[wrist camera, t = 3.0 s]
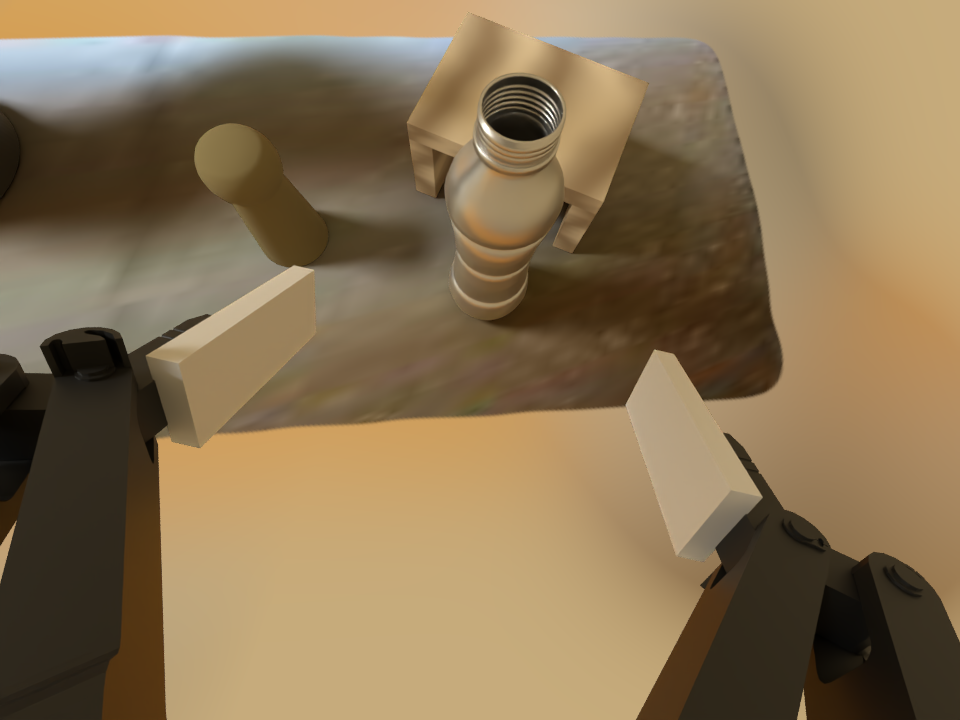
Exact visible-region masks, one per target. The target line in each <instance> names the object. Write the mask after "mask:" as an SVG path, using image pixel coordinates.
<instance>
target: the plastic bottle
mask: <svg viewBox="0 0 960 720" xmlns="http://www.w3.org/2000/svg"><path fill="white" fill-rule="evenodd" d="M565 120H566V103H565V101H564V98H563V96H562V94H561V93H560V91H559V90H558V89H557V88H556V87H555V86H554V85H553V84H552V83H550V82H549V81H547V80H546V79H544V78H542V77H540V76H537V75H533V74H529V73H510V74H505V75H502V76H500V77H498V78H496V79H494V80H492V81H491V82H490V83H489V84H488V85H487V86H486V87H485V88H484V90H483V91H482V93H481V96H480V99H479V102H478V108H477V118H476V121H475V123H474V129H473V138H472V139H471V140H470V141H469V142H468V143H466V144H465V145H464V146H463V147H462V148H461V149H460V150H459V151H458V153H457V154H456V156H455V157H454V159H453V161H452V163H451V166H450V168H449V171H448V173H447V176H446V179H445V186H444V191H445V200H446V207H447V210H448V214H449V217H450V220H451V224H452V227H453V231H454V235H455V245H456V252H455V258H454V260H453V263H452V266H451V269H450V273H449V280H448V282H449V289H450V293H451V295H452V297H453V299H454V301H455V302H456V304H457V306H458V307H459V308H460V309H461V310H462V311H463V312H464V313H466V314H467V315H469V316H471V317H473V318H476V319H480V320H495V319H499V318H502V317H504V316H506V315H508V314H509V313H510V312H512V311H513V310H514V309H515V308H516V307H517V306H518V305H519V304H520V303H521V301H522V300H523V298H524V296H525V293H526V290H527V284H528V268H529V264H530V260H531V258H532V256H533V254H534V252H535V250H536V248H537V247H538V245H539V244H540V243H541V241H542V240H543V239H544V237H545V236H546V235H547V233H548V232H549V230H550V229H551V228H552V226H553V224H554V223H555V221H556V219H557V217H558V216H559V214H560V212H561V209H562V206H563V203H564V193H565V191H564V176H563V171H562V169H561V166H560V163H559V161H558V159H557V157H556V153H557V150H558V147H559V144H560V136H561V132H562V129H563V127H564V124H565Z"/></svg>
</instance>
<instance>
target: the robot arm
mask: <svg viewBox="0 0 960 720" xmlns="http://www.w3.org/2000/svg"><path fill="white" fill-rule="evenodd" d="M18 162H19V141H18V137H17V134H16V132H15V129H14V127H13V126H12V124H11V122H10V121H9V120H8V119H7V117H6V116H5V115H4V114H3V113H2V112H1V111H0V198H1V197H2V196H3V194H4V193H5V192H6V190H7V189H8V187H9V185H10V184H11V182H12V180H13V178H14V175H15V173H16V170H17V166H18ZM315 334H316V316H315V280H314V270H312V269H308V268H303V267H299V266H295V265H294V266H292V267H291V268H289V269H287V270H286V271H284V272H282V273H281V274H279V275H277V276H276V277H274V278H272V279H271V280H269V281H268V282H266V283H264V284H263V285H261V286H259V287H258V288H256V289H254V290H253V291H251V292H249V293H248V294H246V295H245V296H243V297H241V298H240V299H238V300H236V301H235V302H233V303H231V304H230V305H228V306H227V307H225V308H223V309H222V310H220V311H218V312H217V313H215V314H213V315H208V314H206V315H203V316H199V317H196V318H192V319H189V320H187V321H185V322H183V323H182V324H180V325H178V326H176V327H175V328H174V329H173V330H169V331H168V332H166V333H164V334H163V335H162V337H157V338H156V339H154V340H152V341H150V342H149V343H147V344H145V345H144V346H142V347H140V348H138V349H137V350H135V351H133V352H131V353H130V354H127V351H126V348H125V345H124V342H123V339H122V337H121V335H120V333H119V332H117V331H115V330H113V329H108V328H101V327H87V328H79V329H73V330H68V331H65V332H61V333H58V334H55V335H53V336H52V337H50V338H48V339H46V340H45V341H44V342H43V343H42V344H41V345H40V348H41V350H42V352H43V354H44V357H45V359H46V361H47V363H48V365H49V367H50V369H51V371H52V374H41V373H24V371H23V369H22V367H21V365H20V363H19V362H18V360H17V359H16V358H15V357H12V356H9V355H6V354H0V545H1V544H2V542H3V540H4V539H5V537H6V536H7V534H8V533H9V531H10V530H11V528H12V526H13V525H14V523H15V521H16V520H17V522H16V526H15V529H14V533H13V537H12V541H11V545H10V549H9V552H8V556H7V560H6V564H5V568H4V572H3V575H2V579H1V583H0V720H167V719H166V705H165V669H164V635H163V601H162V567H161V532H160V501H159V500H160V498H159V465H158V464H159V463H158V443H157V440H156V437H155V435H156V434H157V433H158V432H160V431H161V430H162V429H163V428H164V427H166V426H167V427H168V431H169V434H170V437H171V440H172V442H175V443H179V444H184V445H188V446H193V447H197V448H201V447H202V446H203V445H204V444H205V443H206V442H207V441H208V440H209V439H210V438H211V437H212V436H213V435H214V434H215V433H216V432H217V431H218V430H219V429H220V428H221V427H222V426H223V425H224V424H225V423H226V422H227V421H228V420H229V419H230V418H231V417H232V416H233V415H234V414H235V413H236V412H237V411H238V410H239V409H240V408H241V407H242V406H243V405H244V404H245V403H246V402H247V401H248V400H249V399H250V398H251V397H252V396H253V395H254V394H255V393H256V392H257V391H258V390H259V389H261V388H262V387H263V386H264V385H265V384H266V383H267V382H268V381H269V380H270V379H271V378H272V377H273V376H274V375H275V374H276V373H277V372H278V371H279V370H280V369H281V368H282V367H283V366H284V365H285V364H286V363H287V362H288V361H289V360H290V359H291V358H292V357H293V356H294V355H295V354H296V353H297V352H298V351H299V350H300V349H301V348H302V347H303V346H304V345H305V344H306V343H307V342H308V341H309V340H310V339H311V338H312V337H313V336H314V335H315ZM626 408H627V411H628V414H629V417H630V420H631V423H632V426H633V429H634V432H635V435H636V438H637V441H638V444H639V447H640V450H641V453H642V456H643V459H644V462H645V464H646V468H647V470H648V473H649V476H650V479H651V482H652V485H653V488H654V491H655V494H656V497H657V500H658V503H659V506H660V509H661V512H662V515H663V518H664V521H665V523H666V527H667V530H668V533H669V536H670V538H671V541H672V544H673V547H674V550H675V553H676V556H678V557H683V558H687V559H692V560H696V561H701V562H704V561H705V560H706V559H707V558H708V557H709V556H710V555H711V553H713V551H714V550H715V549H716V551H717V553H718V555H719V557H720V560H721V562H722V563H721V564H720V565H719V566H718V567H717V568H716V569H715V571H714V572H713V573H712V574H711V575H710V576H709V577H708V578H707V579H706V580H705V581H704V582H703V583H702V584H701V585H700V586H702V587H703V588H704V589H705V590H704V592H703V593H702V595H701V598H700V599H699V601H698V603H697V605H696V607H695V609H694V611H693V612H692V614H691V616H690V618H689V620H688V622H687V624H686V626H685V628H684V630H683V631H682V634H681V635H680V637H679V639H678V641H677V643H676V645H675V647H674V649H673V651H672V652H671V655H670V656H669V658H668V660H667V662H666V664H665V666H664V668H663V669H662V671H661V673H660V675H659V677H658V679H657V681H656V683H655V685H654V687H653V688H652V690H651V692H650V694H649V696H648V698H647V700H646V702H645V704H644V706H643V707H642V709H641V711H640V713H639V715H638V717H637V719H636V720H797V716H798V712H799V707H800V702H801V697H802V692H803V688H804V696H805V706H806V716H807V720H960V642H959V639H958V637H957V635H956V633H955V630H954V628H953V626H952V624H951V621H950V620H949V617H948V615H947V612H946V610H945V608H944V606H943V604H942V601H941V599H940V598H939V596H938V595H937V593H936V592H935V590H934V589H933V588H932V587H931V585H929V583H928V582H927V581H926V580H925V579H924V578H923V577H922V576H921V575H920V574H919V573H918V572H915V571H914V569H913V568H911V567H910V566H908V565H906V564H904V563H903V562H901V561H899V560H897V559H896V558H894V557H891V556H889V555H886V554H884V553H877V552H873V553H871V554H870V555H868V556H867V557H866V558H864V559H863V560H862V561H860V562H858V561H856V560H854V559H852V558H850V557H848V556H846V555H843V554H841V553H839V552H837V551H835V550H833V549H831V547H830V545H829V543H828V542H827V540H826V538H825V537H824V536H823V535H822V534H821V533H820V531H818V529H817V528H816V527H815V526H813V525H812V524H811V523H809V522H808V521H807V520H805V519H804V518H802V517H801V516H799V515H797V514H795V513H793V512H790V511H787V510H784V509H783V507H782V506H781V504H780V502H779V501H778V500H777V498H776V497H775V495H774V493H773V492H772V490H771V489H770V487H769V486H768V484H767V483H766V481H765V480H764V478H763V477H762V475H761V474H759V473H758V472H759V471H758V469H757V468H756V466H755V464H754V463H752V462H751V461H752V460H751V458H750V457H749V455H748V454H747V452H746V451H745V449H744V448H743V447H742V446H741V445H740V444H739V443H738V442H737V441H736V440H735V439H734V438H733V437H732V436H731V435H730V434H727V433H723V432H722V431H721V429H720V428H719V426H718V424H717V423H716V421H715V419H714V418H713V416H712V415H711V413H710V411H709V410H708V408H707V407H706V405H705V403H704V402H703V400H702V399H701V397H700V395H699V394H698V392H697V390H696V389H695V387H694V386H693V384H692V382H691V381H690V379H689V378H688V376H687V374H686V373H685V371H684V370H683V368H682V366H681V365H680V363H679V361H678V360H677V358H676V357H675V355H674V354H671V353H667V352H663V351H659V350H654V351H653V353H652V355H651V357H650V359H649V361H648V363H647V365H646V367H645V368H644V370H643V372H642V374H641V376H640V378H639V380H638V382H637V384H636V386H635V388H634V390H633V392H632V394H631V395H630V397H629V399H628V401H627V403H626Z"/></svg>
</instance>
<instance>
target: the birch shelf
mask: <svg viewBox="0 0 960 720" xmlns="http://www.w3.org/2000/svg"><path fill="white" fill-rule="evenodd" d="M510 73H529V74H533V75H537V76H540V77H542V78H544V79H546V80H547V81H549V82H550V83H552V84H553V85H554V86H555V87H556V88H557V89H558V90H559V91H560V93H561V94H562V96H563V98H564V101H565V103H566V120H565V124H564V127H563V129H562V132H561V136H560V144H559V147H558V150H557V153H556V157H557V159H558V161H559V163H560V166H561V169H562V171H563V176H564V191H565V193H564V202H566V203H569V206H568V208H567V211H566V213H565V216H564V218H563V221H562V223H561V226H560V228H559V230H558V233H557V235H556V238H555V240H554V243H553V245H552V246H554V247H557V248H559V249H562V250H564V251H567V252H569V253H573V251H574V249H575V248H576V246H577V244H578V243H579V241H580V240H581V238H582V236H583V235H584V233H585V231H586V230H587V228H588V227H589V225H590V223H591V222H592V220H593V218H594V217H595V215H596V213H597V212H598V210H599V209H600V207H601V205H602V204H603V202H604V199H605V197H606V194H607V191H608V189H609V186H610V184H611V181H612V178H613V176H614V173H615V171H616V168H617V165H618V163H619V160H620V158H621V155H622V152H623V150H624V147H625V145H626V142H627V139H628V137H629V134H630V131H631V129H632V126H633V124H634V121H635V118H636V116H637V113H638V111H639V108H640V105H641V103H642V100H643V98H644V95H645V92H646V90H647V87H648V84H649V83H647V82H645V81H642V80H639V79H637V78H634V77H632V76H629V75H627V74H624V73H622V72H619V71H617V70H614V69H612V68H609V67H606V66H604V65H601V64H599V63H596V62H594V61H591V60H589V59H586V58H584V57H581V56H579V55H576V54H573V53H571V52H568V51H566V50H563V49H561V48H558V47H556V46H553V45H551V44H548V43H546V42H543V41H540V40H538V39H535V38H533V37H530V36H528V35H525V34H523V33H520V32H518V31H515V30H512V29H510V28H508V27H505V26H502V25H500V24H497V23H495V22H492V21H490V20H487V19H485V18H482V17H480V16H477V15H474V14H472V13H469V12H468V13H467V15H466V17H465V18H464V20H463V22H462V24H461V26H460V27H459V29H458V31H457V33H456V35H455V36H454V38H453V40H452V42H451V44H450V45H449V47H448V49H447V51H446V53H445V54H444V56H443V58H442V60H441V62H440V63H439V65H438V67H437V69H436V71H435V72H434V74H433V76H432V78H431V80H430V82H429V83H428V85H427V87H426V89H425V91H424V92H423V94H422V96H421V98H420V100H419V101H418V103H417V105H416V107H415V109H414V110H413V112H412V114H411V116H410V118H409V119H408V121H407V129H408V135H409V142H410V149H411V156H412V162H413V169H414V176H415V183H416V190H417V191H419V192H422V193H424V194H427V195H429V196H432V197H434V198H436V197H437V195H438V193H439V191H440V189H441V187H442V185H443V183H444V181H445V179H446V176H447V173H448V171H449V168H450V166H451V163H452V161H453V159H454V157H455V156H456V154H457V153H458V151H459V150H460V149H461V148H462V147H463V146H464V145H465V144H466V143H468V142H469V141H470V140H471V139H472V138H473V129H474V123H475V121H476V118H477V108H478V102H479V99H480V96H481V93H482V91H483V90H484V88H485V87H486V86H487V85H488V84H489V83H490V82H491V81H492V80H494V79H496V78H498V77H500V76H502V75H505V74H510Z"/></svg>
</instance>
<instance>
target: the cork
mask: <svg viewBox="0 0 960 720" xmlns="http://www.w3.org/2000/svg"><path fill="white" fill-rule="evenodd" d="M194 162H195V166H196V169H197V173H198V174H199V176H200V178H201V180H202V181H203V182H204V184H205V185H206V186H207V188H208V189H209V190H210V191H211V192H212V193H214V194H215V195H217V196H218V197H220V198H222V199H223V200H225V201H227V202H228V203H232V204H233V206H234V207H235V209H236V210H237V212H238V213H239V215H240V217H241V218H242V220H243V221H244V223H245V224H246V226H247V227H248V229H249V230H250V232H251V233H252V235H253V236H254V238H255V240H256V241H257V243H258V244H259V246H260V247H261V249H262V250H263V252H264V253H265V254H266V256H267V257H268V258H269V259H270V260H271V261H273V262H275V263H276V264H278V265H281V266H285V267H292V266H294V265H295V266H299V267H300V266H304V265H307V264H310V263H311V262H313V261H314V260H316V259H317V258H318V257H319V256H320V255H321V254H322V253H323V251H324V250H325V248H326V245H327V243H328V229H327V226H326V223H325V222H324V220H323V219H322V218H321V217H320V215H319V214H318V213H317V212H316V211H315V210H314V208H313V207H312V206H311V205H310V204H309V203H308V202H307V200H306V199H305V198H304V197H303V196H302V195H301V194H300V193H299V191H298V190H297V189H296V188H295V187H294V186H293V185H292V183H291V182H290V181H289V180H288V179H287V178H286V177H285V175H284V174H283V166H282V162H281V159H280V156H279V154H278V152H277V150H276V148H275V147H274V146H273V145H272V143H271V142H270V141H269V140H268V139H267V138H266V137H265V136H264V135H263V134H262V133H260V132H258V131H257V130H255V129H253V128H251V127H249V126H245V125H242V124H235V123H227V124H223V125H219V126H216V127H214V128H212V129H210V130H209V131H207V132H206V133H205V134H204V135H203V136H202V137H201V138H200V139H199V141H198V143H197V145H196V147H195V155H194Z"/></svg>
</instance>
